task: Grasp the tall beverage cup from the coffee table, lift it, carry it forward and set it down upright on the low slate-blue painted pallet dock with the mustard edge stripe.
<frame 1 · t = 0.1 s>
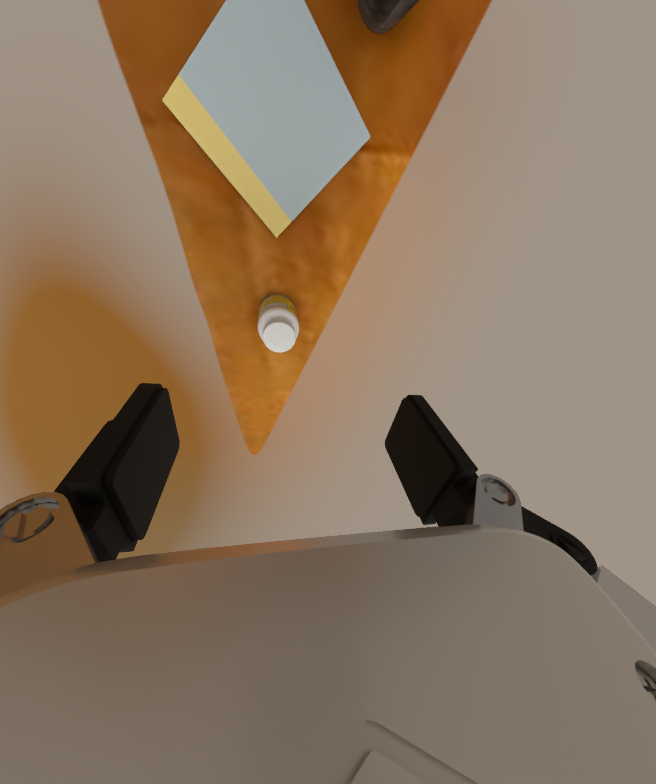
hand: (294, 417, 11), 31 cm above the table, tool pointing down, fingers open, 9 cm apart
dock: (274, 127, 27), on the table
supplement bottle: (277, 310, 39), on the table
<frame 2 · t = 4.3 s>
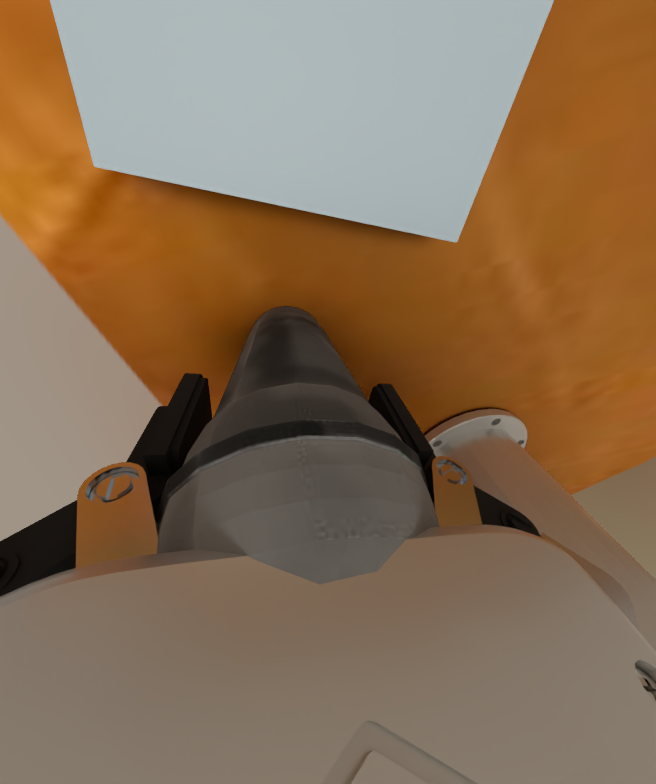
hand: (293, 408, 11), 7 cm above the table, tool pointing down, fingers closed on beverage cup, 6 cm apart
beverage cup: (287, 340, 17), on the table, touching gripper
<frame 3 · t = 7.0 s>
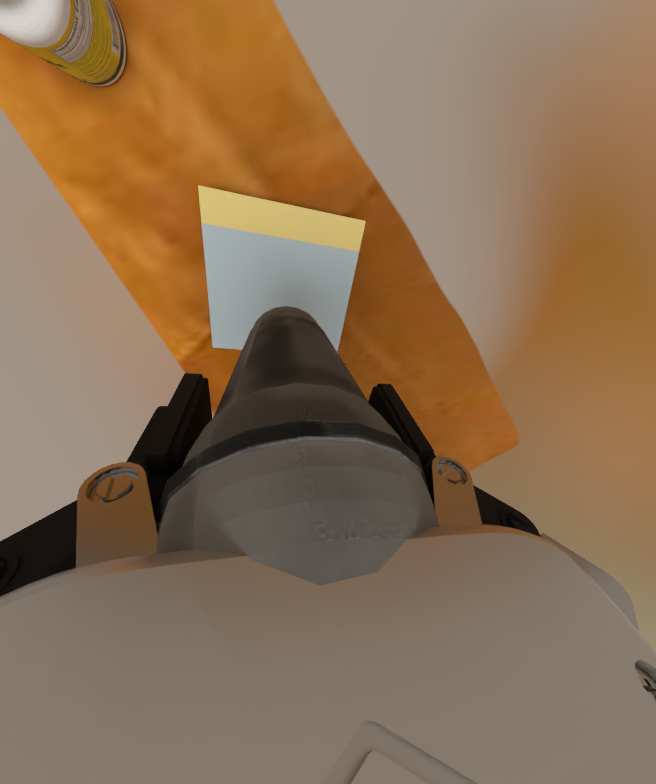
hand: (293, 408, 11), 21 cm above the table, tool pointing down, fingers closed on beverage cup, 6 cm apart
dock: (281, 282, 28), on the table
supplement bottle: (82, 29, 17), on the table
beverage cup: (287, 340, 17), point 15 cm above the table, touching gripper
when the fingers open (11 cm above the table, at t = 9.8 s): beverage cup drops 1 cm, resting on dock.
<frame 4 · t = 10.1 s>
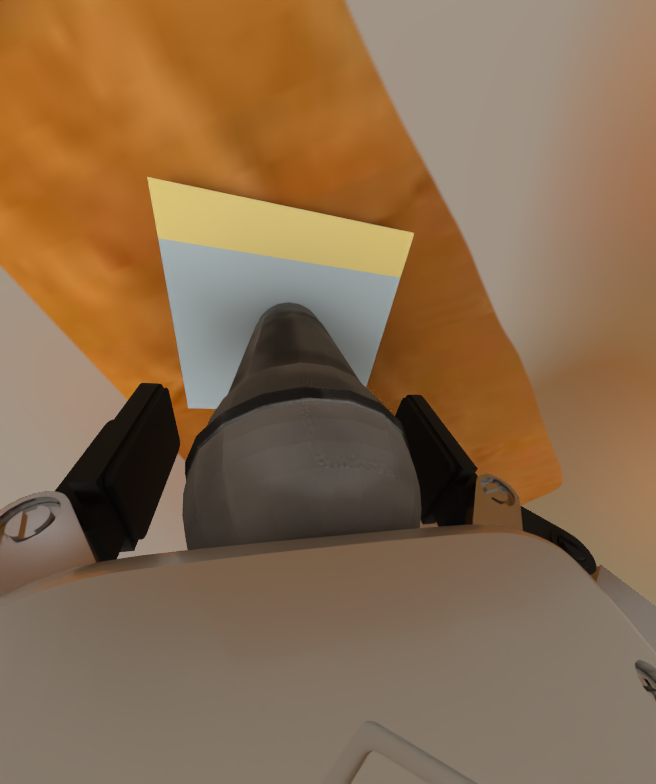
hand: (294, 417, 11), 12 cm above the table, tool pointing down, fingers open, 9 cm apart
dock: (285, 316, 20), on the table
beverage cup: (289, 334, 18), point 3 cm above the table, touching dock
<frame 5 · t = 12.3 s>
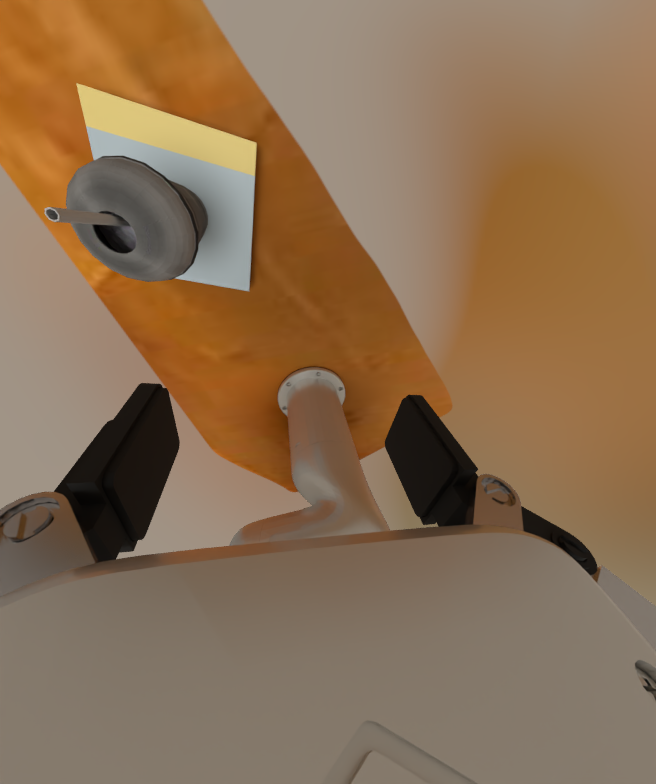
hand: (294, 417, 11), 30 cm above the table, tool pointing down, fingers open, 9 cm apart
dock: (189, 208, 29), on the table
beverage cup: (185, 213, 27), point 3 cm above the table, touching dock
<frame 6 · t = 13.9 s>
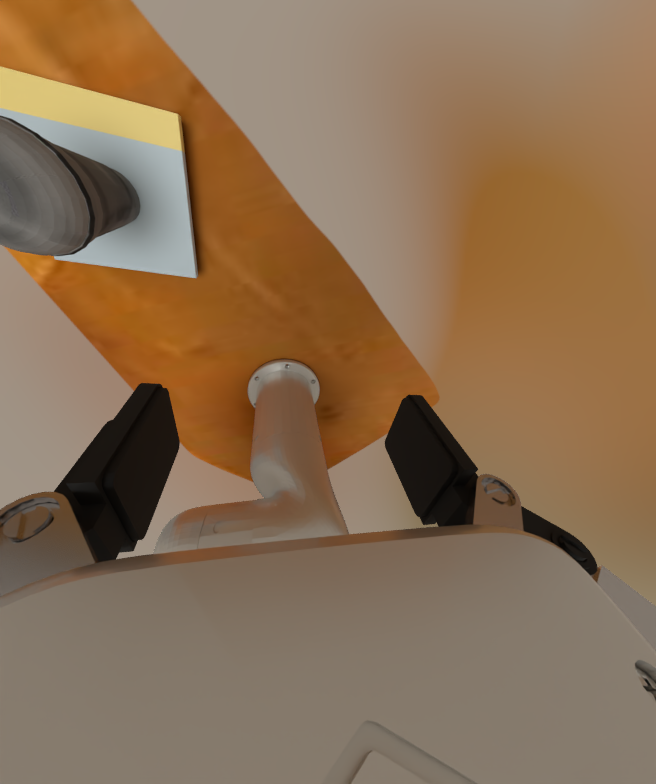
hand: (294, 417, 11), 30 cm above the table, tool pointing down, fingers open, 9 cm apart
dock: (124, 194, 28), on the table
beverage cup: (115, 196, 26), point 3 cm above the table, touching dock
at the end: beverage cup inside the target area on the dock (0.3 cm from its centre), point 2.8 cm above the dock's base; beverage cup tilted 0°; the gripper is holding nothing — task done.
